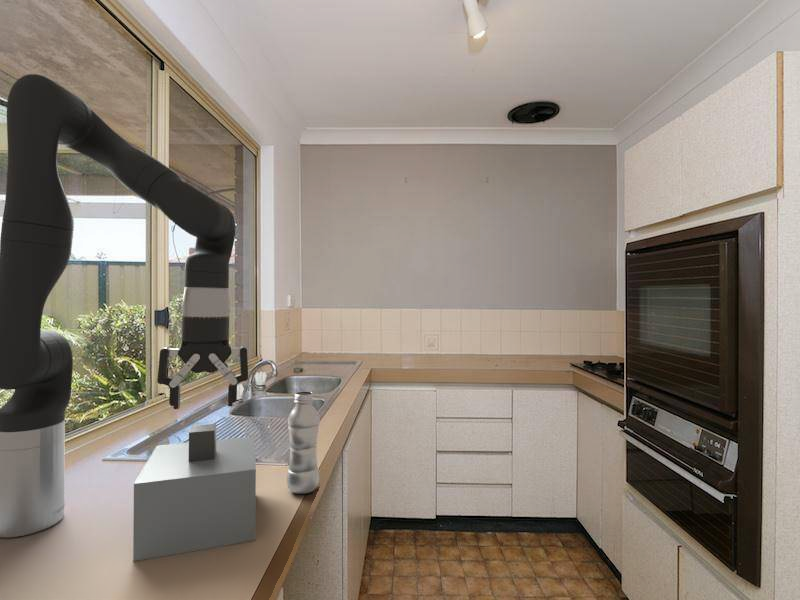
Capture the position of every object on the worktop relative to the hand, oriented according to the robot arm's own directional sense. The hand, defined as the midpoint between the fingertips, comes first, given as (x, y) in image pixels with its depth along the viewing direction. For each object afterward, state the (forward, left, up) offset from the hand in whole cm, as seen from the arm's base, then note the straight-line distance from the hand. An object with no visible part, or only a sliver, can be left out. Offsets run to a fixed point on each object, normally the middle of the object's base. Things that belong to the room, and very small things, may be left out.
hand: (204, 406), depth 74 cm
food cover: (0, 0, -20) cm, 20 cm away
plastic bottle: (+18, +7, -21) cm, 28 cm away
